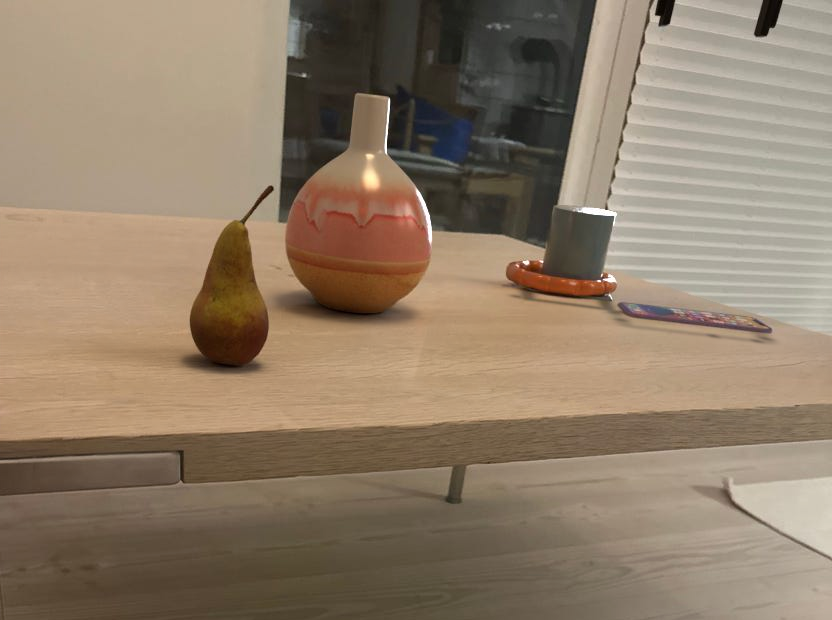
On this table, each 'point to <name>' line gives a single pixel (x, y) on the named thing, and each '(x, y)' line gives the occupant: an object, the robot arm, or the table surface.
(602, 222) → the cylinder on square base
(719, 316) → the smartphone
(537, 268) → the ring
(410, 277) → the vase
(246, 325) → the fruit
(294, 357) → the table surface
